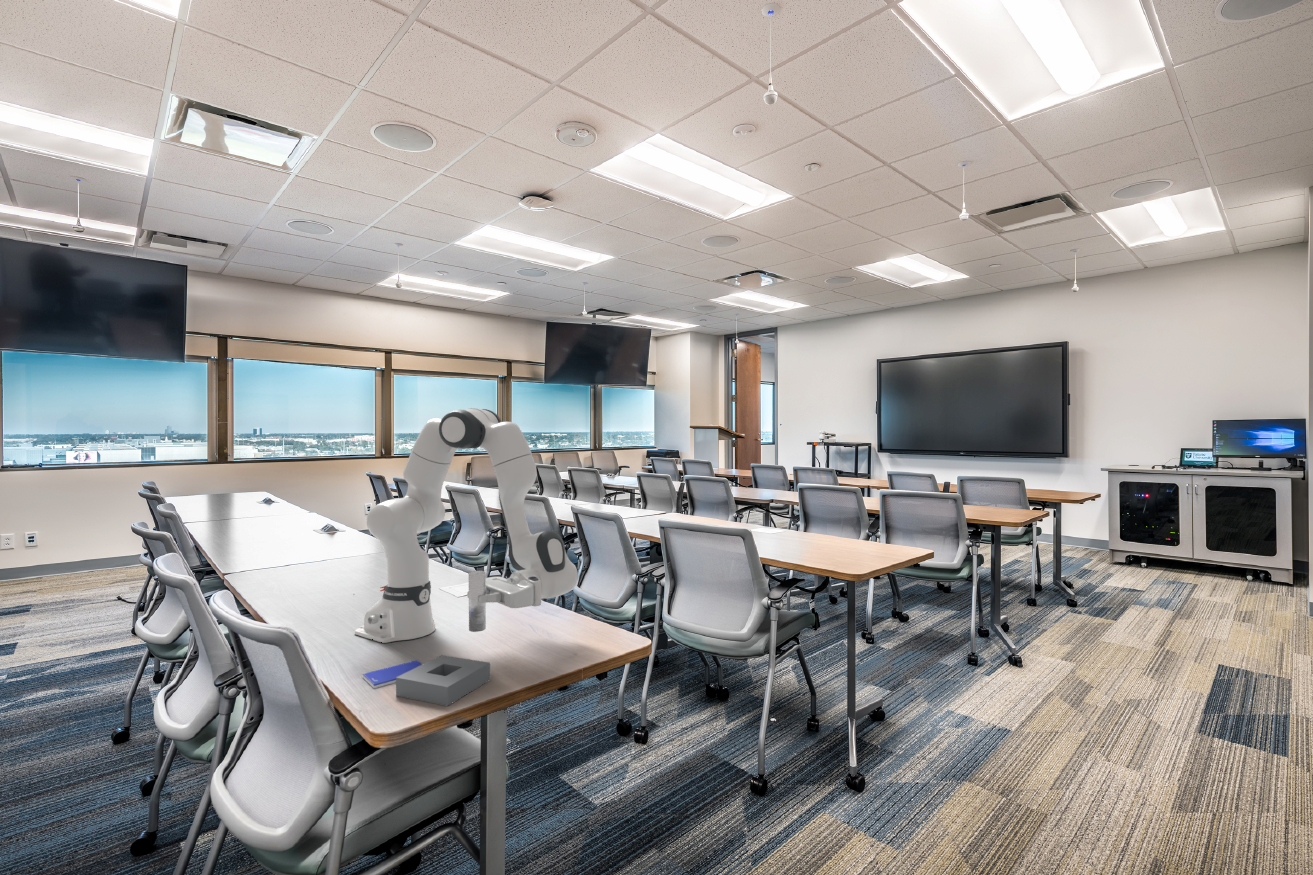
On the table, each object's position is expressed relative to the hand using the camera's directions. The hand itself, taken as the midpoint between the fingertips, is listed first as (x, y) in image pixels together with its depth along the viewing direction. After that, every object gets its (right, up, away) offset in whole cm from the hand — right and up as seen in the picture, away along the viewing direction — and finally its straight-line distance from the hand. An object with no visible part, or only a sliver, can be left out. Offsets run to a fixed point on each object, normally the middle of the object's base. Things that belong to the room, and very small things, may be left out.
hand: (473, 597), depth 143 cm
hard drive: (-17, -17, -6) cm, 25 cm away
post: (+1, -8, +1) cm, 8 cm away
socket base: (-2, -17, -13) cm, 21 cm away
